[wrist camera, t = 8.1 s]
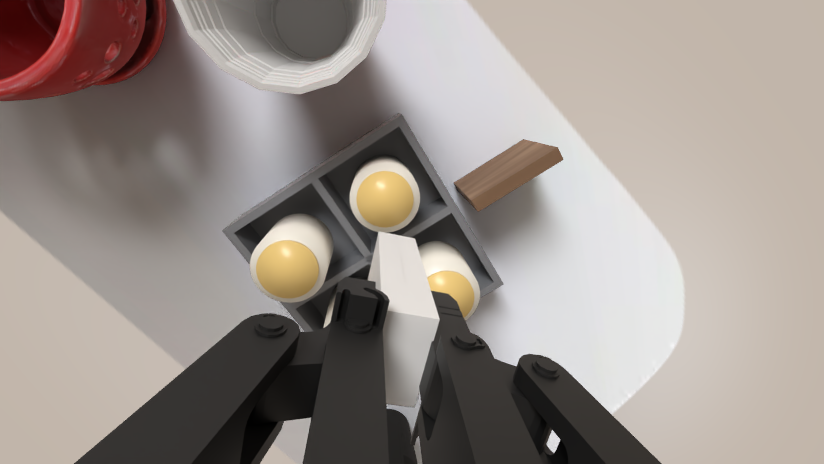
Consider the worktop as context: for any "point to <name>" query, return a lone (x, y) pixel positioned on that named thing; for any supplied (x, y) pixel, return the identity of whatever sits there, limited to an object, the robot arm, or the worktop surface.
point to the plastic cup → (284, 38)
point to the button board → (353, 242)
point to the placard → (507, 172)
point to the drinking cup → (399, 439)
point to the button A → (292, 258)
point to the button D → (450, 275)
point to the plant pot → (75, 44)
